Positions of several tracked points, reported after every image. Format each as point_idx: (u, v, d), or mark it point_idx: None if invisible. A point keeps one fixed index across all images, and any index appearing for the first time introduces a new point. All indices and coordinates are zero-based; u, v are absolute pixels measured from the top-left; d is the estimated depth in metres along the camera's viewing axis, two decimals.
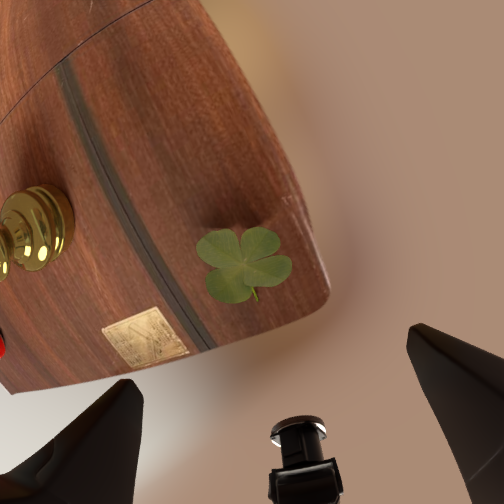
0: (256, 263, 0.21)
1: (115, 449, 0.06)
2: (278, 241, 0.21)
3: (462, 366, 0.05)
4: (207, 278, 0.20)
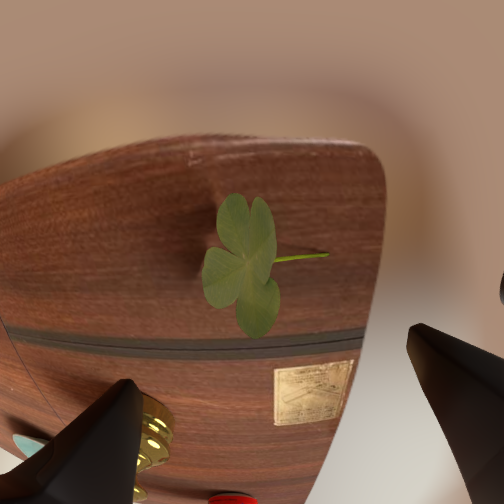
0: (250, 245, 0.13)
1: (115, 449, 0.05)
2: (239, 196, 0.13)
3: (462, 366, 0.05)
4: (239, 322, 0.13)
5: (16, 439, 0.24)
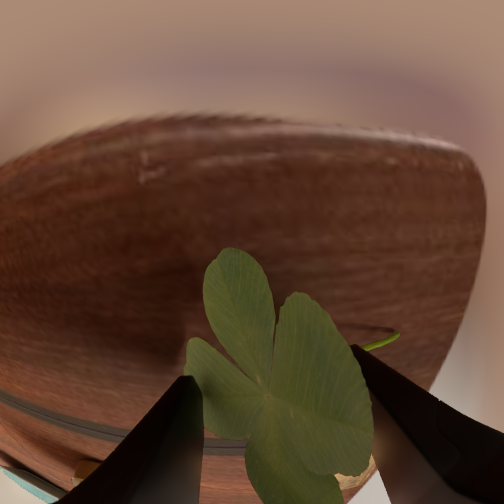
0: (276, 378, 0.05)
1: (184, 454, 0.05)
2: (248, 260, 0.06)
3: (382, 401, 0.05)
4: (251, 478, 0.06)
5: (2, 469, 0.17)
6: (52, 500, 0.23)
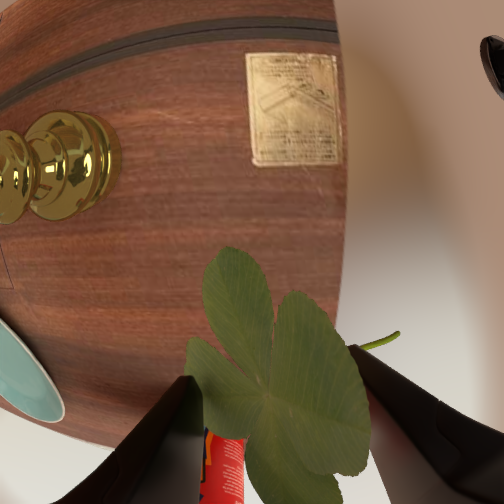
0: (275, 377, 0.05)
1: (184, 454, 0.05)
2: (247, 259, 0.06)
3: (381, 401, 0.05)
4: (251, 478, 0.06)
5: None
6: (6, 387, 0.26)
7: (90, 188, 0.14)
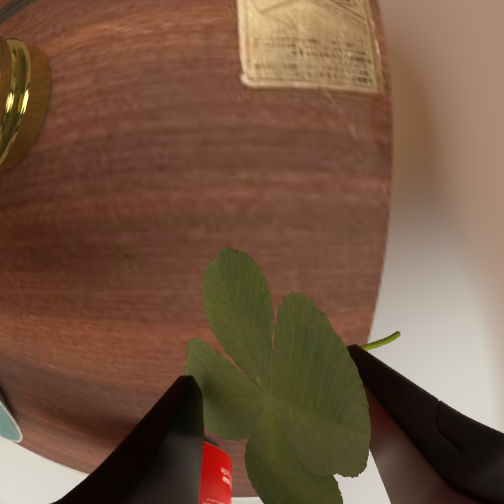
0: (275, 378, 0.05)
1: (184, 454, 0.05)
2: (247, 260, 0.06)
3: (381, 401, 0.05)
4: (251, 478, 0.06)
5: None
6: None
7: None
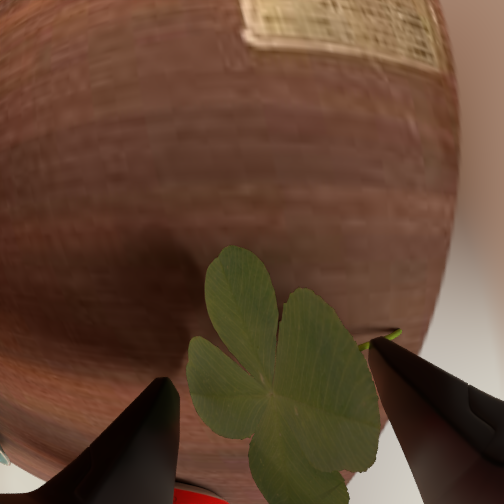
0: (280, 375, 0.05)
1: (157, 453, 0.05)
2: (250, 257, 0.06)
3: (416, 388, 0.05)
4: (255, 477, 0.06)
5: None
6: None
7: None
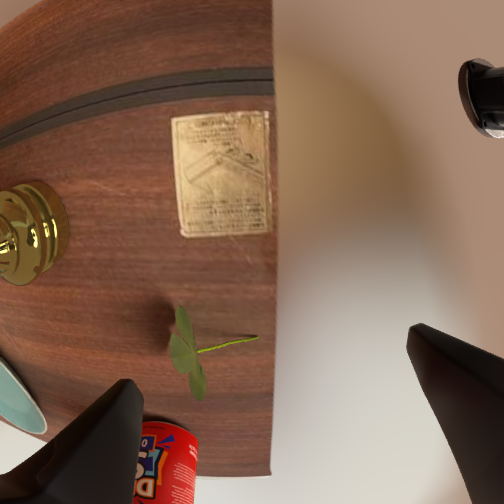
0: (193, 345, 0.19)
1: (115, 449, 0.05)
2: (185, 311, 0.19)
3: (462, 366, 0.05)
4: (191, 386, 0.19)
5: None
6: None
7: (39, 264, 0.15)
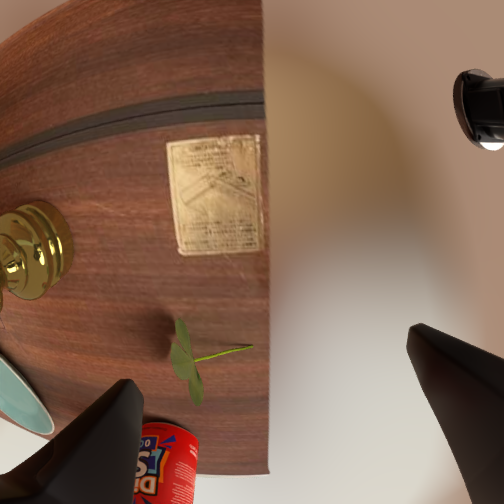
0: (191, 354, 0.20)
1: (115, 449, 0.05)
2: (183, 323, 0.20)
3: (462, 366, 0.05)
4: (190, 392, 0.20)
5: None
6: (4, 402, 0.28)
7: (47, 281, 0.16)
